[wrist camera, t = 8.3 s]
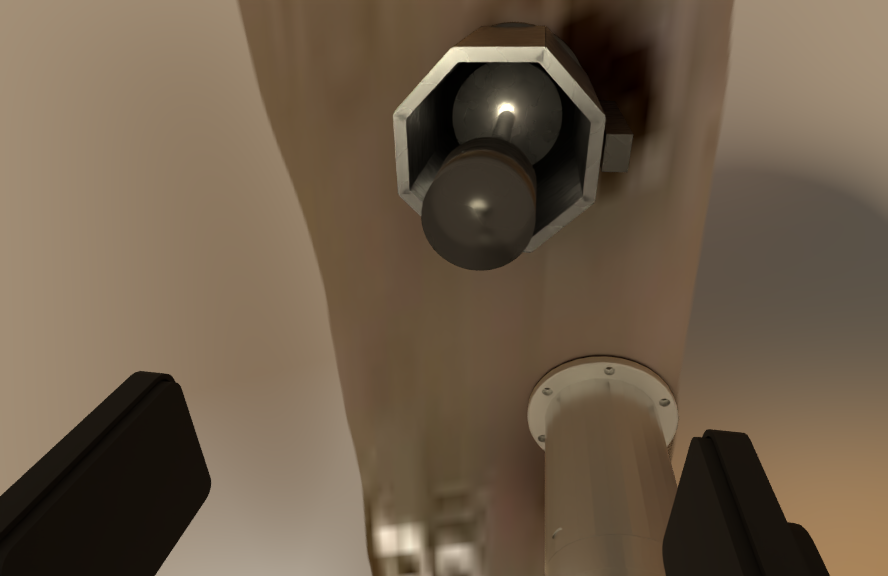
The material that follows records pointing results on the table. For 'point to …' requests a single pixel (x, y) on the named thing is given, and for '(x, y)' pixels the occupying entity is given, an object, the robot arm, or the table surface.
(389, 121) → the table surface
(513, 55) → the grey octagonal cup
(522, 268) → the table surface
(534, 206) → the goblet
